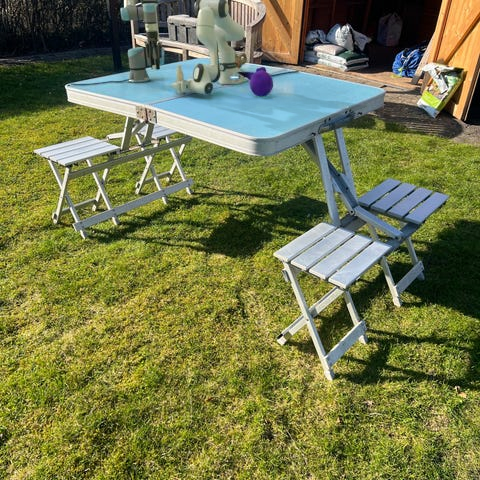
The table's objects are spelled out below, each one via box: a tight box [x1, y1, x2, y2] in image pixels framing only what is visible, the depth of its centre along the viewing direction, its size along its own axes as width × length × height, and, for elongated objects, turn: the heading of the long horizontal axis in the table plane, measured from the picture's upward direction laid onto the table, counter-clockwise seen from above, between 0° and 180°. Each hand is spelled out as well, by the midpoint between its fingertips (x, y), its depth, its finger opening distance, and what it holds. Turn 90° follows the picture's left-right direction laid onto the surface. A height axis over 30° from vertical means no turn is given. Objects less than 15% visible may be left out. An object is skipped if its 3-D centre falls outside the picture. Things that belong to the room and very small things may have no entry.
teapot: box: [235, 51, 248, 70], centre depth 367 cm, size 21×12×15 cm, turn 120°
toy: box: [237, 66, 274, 97], centre depth 289 cm, size 16×18×27 cm
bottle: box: [175, 64, 186, 95], centre depth 298 cm, size 5×5×18 cm
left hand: (155, 69), depth 301 cm, fingers closed on cap, 4 cm apart
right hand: (179, 82), depth 299 cm, fingers closed on bottle, 5 cm apart
